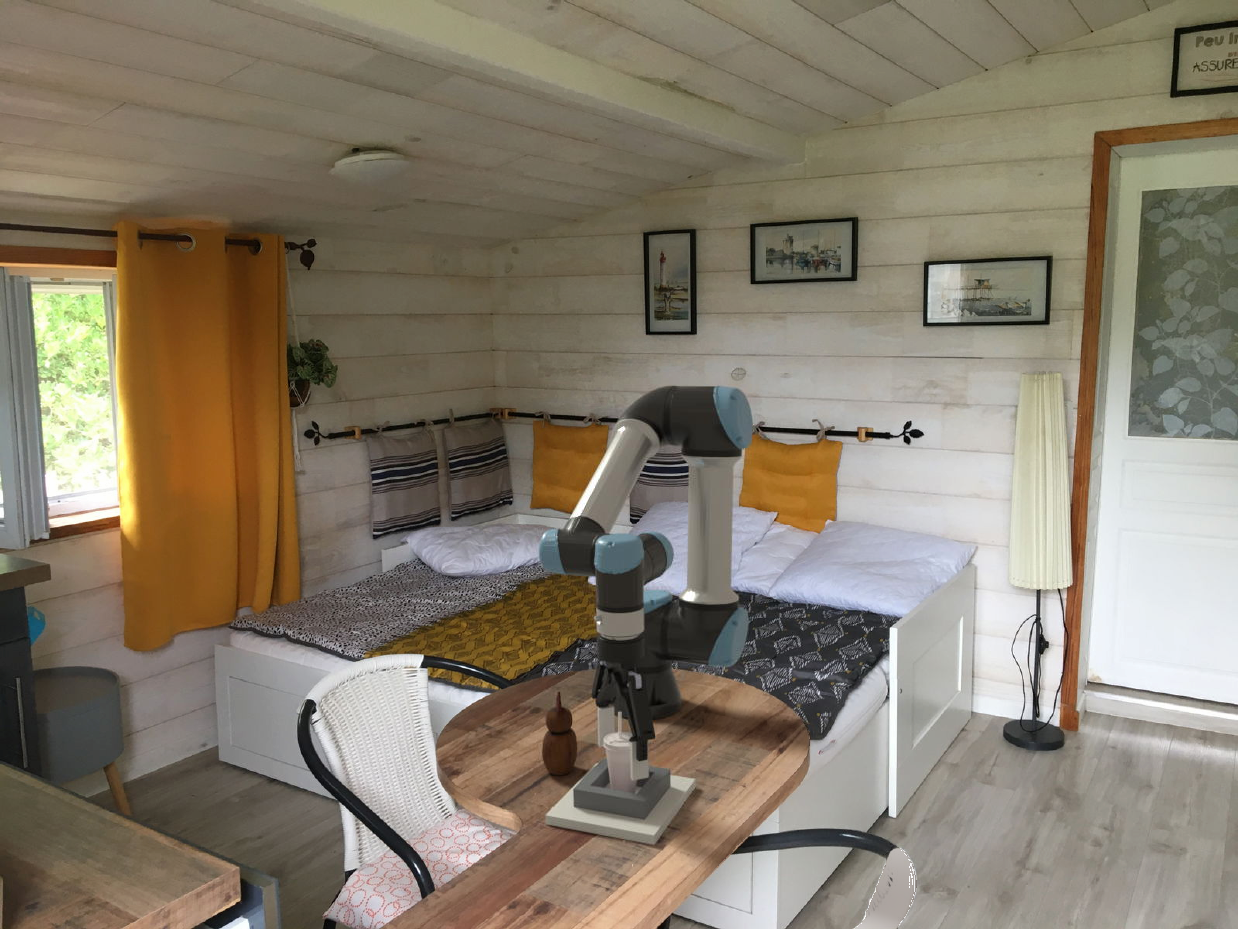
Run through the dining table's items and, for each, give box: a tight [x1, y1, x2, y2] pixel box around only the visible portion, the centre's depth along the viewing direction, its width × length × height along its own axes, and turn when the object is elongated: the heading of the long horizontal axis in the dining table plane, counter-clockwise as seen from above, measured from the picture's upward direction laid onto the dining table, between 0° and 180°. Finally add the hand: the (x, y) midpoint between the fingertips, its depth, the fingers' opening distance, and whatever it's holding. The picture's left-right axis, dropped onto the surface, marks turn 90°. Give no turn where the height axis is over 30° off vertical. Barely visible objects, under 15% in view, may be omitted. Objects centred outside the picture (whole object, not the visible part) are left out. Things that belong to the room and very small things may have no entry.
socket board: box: [545, 757, 697, 846], centre depth 165 cm, size 20×18×4 cm
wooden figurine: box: [541, 691, 578, 776], centre depth 177 cm, size 7×6×15 cm
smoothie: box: [603, 712, 637, 793], centre depth 164 cm, size 6×6×14 cm
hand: (622, 761), depth 164 cm, fingers open, 13 cm apart
